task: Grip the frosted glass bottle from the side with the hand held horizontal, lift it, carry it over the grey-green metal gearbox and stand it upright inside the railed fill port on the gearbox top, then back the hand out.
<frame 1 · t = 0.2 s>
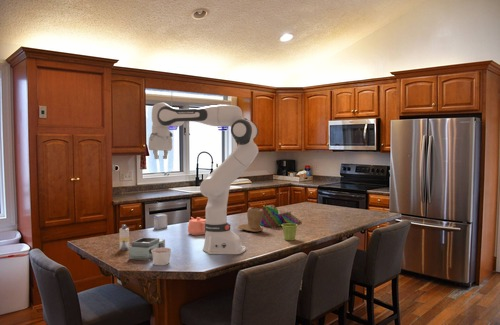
hand: (160, 159, 214), 48 cm above the kitchen island, tool pointing down, fingers open, 8 cm apart
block: (280, 224, 276), on the kitchen island
candle: (161, 263, 184), on the kitchen island
frosted glass bottle: (124, 249, 210), on the kitchen island
brown hat: (252, 231, 255), on the kitchen island
teapot: (197, 234, 247), on the kitchen island
medicine box: (160, 228, 265), on the kitchen island
gearbox: (147, 254, 199), on the kitchen island
plant pot: (289, 239, 230), on the kitchen island
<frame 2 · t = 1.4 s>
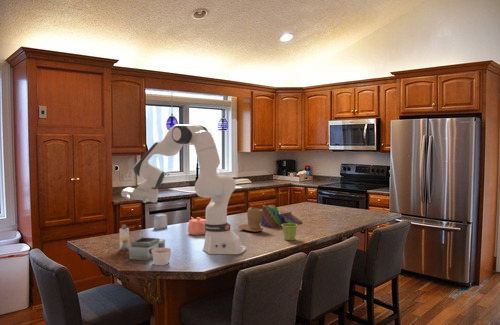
hand: (135, 199, 218), 25 cm above the kitchen island, tool horizontal, fingers open, 8 cm apart
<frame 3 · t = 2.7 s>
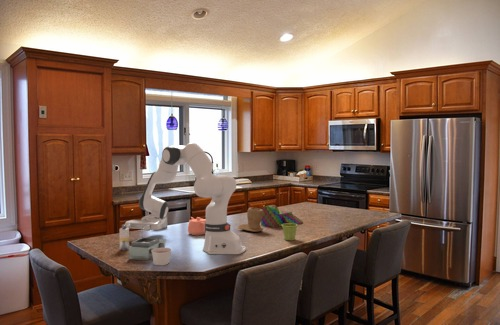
hand: (135, 227, 222), 9 cm above the kitchen island, tool horizontal, fingers open, 8 cm apart
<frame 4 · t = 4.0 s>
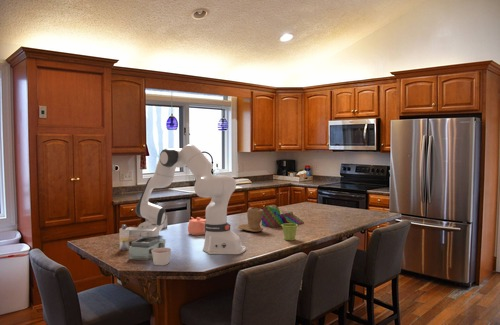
hand: (132, 234, 218), 6 cm above the kitchen island, tool horizontal, fingers open, 8 cm apart
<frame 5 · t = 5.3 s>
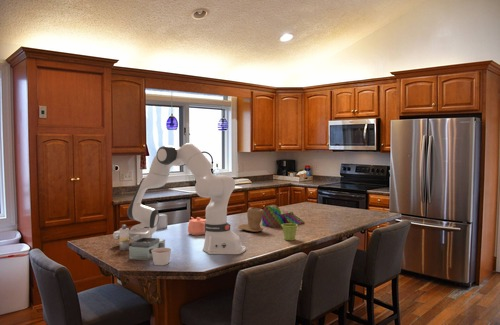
hand: (124, 238, 210), 6 cm above the kitchen island, tool horizontal, fingers open, 8 cm apart
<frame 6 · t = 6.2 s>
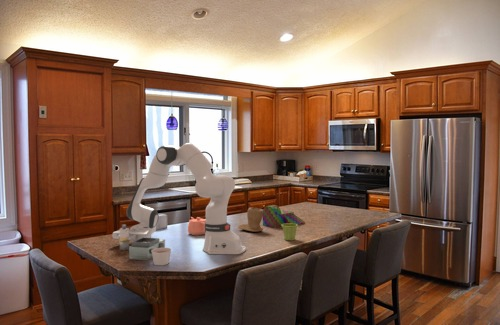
hand: (123, 238, 209), 6 cm above the kitchen island, tool horizontal, fingers closed on frosted glass bottle, 5 cm apart
frosted glass bottle: (124, 249, 210), on the kitchen island, touching gripper
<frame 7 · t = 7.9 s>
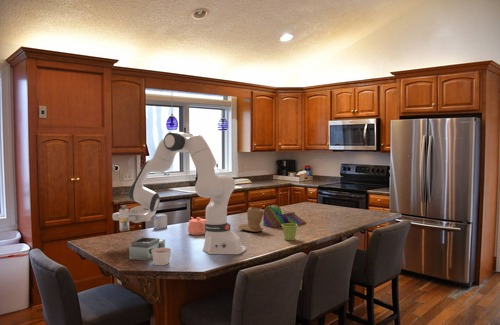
hand: (123, 219, 209), 16 cm above the kitchen island, tool horizontal, fingers closed on frosted glass bottle, 5 cm apart
frosted glass bottle: (124, 230, 210), point 10 cm above the kitchen island, touching gripper
when the fingers open (13 cm above the kitchen island, at t = 10.4 s): frosted glass bottle drops 1 cm, resting on gearbox.
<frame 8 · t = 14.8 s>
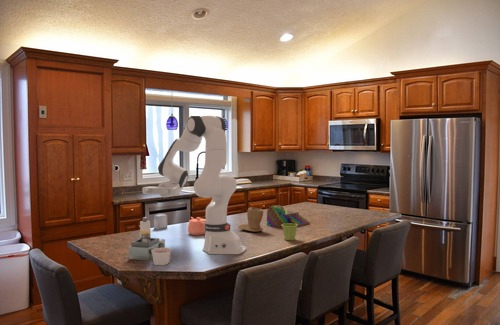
hand: (154, 192, 213), 30 cm above the kitchen island, tool horizontal, fingers open, 8 cm apart
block: (288, 225, 274), on the kitchen island
frosted glass bottle: (145, 243, 197), point 6 cm above the kitchen island, touching gearbox
everything else where it was.
at the end: frosted glass bottle inside the target area on the gearbox (0.0 cm from its centre), point 6.2 cm above the gearbox's base; frosted glass bottle tilted 1°; the gripper is holding nothing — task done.
